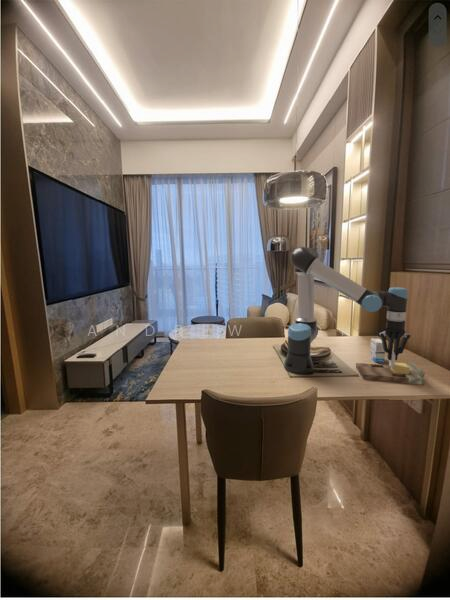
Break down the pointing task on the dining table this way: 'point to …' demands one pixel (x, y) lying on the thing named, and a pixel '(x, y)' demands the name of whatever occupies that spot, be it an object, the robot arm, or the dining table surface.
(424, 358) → the dining table surface
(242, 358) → the dining table surface
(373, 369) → the board
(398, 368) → the ochre block
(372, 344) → the ink box
